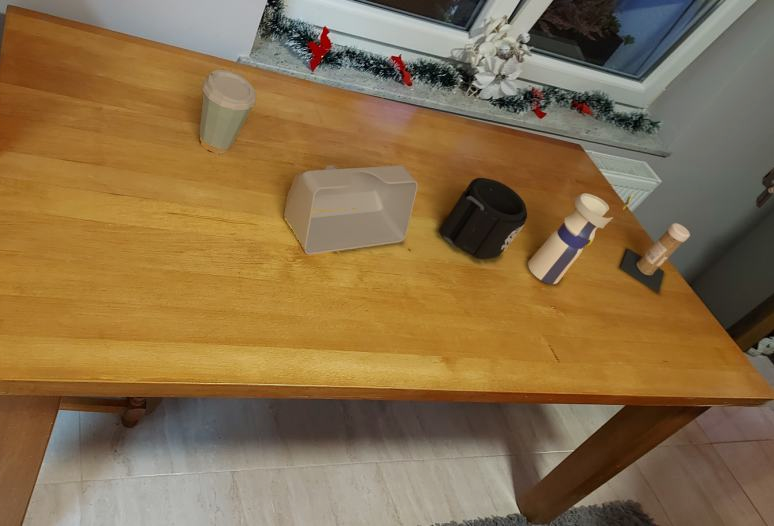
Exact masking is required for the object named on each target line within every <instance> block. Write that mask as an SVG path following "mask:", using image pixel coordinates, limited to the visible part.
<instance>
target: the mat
mask: <svg viewBox="0 0 774 526" xmlns="http://www.w3.org/2000/svg"><path fill="white" fill-rule="evenodd" d="M642 257H643V256H641V255H640V254H639V253H637V252H635V251H634V250H632V249H630V248H628V247H627V249H626V250H625V254H624V256H623V258H622V262H621V265H620V266H619V268H620V269H621V270H622V271H623V272H625V273H627V274H628V275H630V276H632V277H633V278H635V279H636V280H637V281H639V282H641V283H642V284H643V285H645V286H647V287H648V288H650V289H651V290H652V291H655V292H656V293H659V291H660V289H661V285H662V282H663V277H664V275H665V270H663V269H661V268H660V267H659V268H658V269H657V270H656V271H655V272H654V274H653V275H646V274H644V273H642V272H641V271H640V270H639V269H638V268H637V266H636V263H637V262H638V261H639V260H640V259H641V258H642Z"/></svg>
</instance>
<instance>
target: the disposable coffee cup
mask: <svg viewBox="0 0 774 526" xmlns="http://www.w3.org/2000/svg"><path fill="white" fill-rule="evenodd" d="M201 89H202V92H203V96H202V103H201V104H202V106H201V117H200V125H199V126H200V127H199V135H200V137H201V138H202V140H203V141H204V142H206V143H207V144H209V145H210V146H213V147H216V148H218V149H228V148H229V147H230V146H232V147H233V145H234V143H235V140H237V137H238V135H239V134H240V131H241V130H242V128H243V126H244V124H245V122H246V120H247V118H248V117H249V115H250V112H251V111H252V109H253V107H254V106H255V105H256V99H257V92H256V90H255V89H254V86H252V84H251V83H250V81H248V80H247V79H246V78H245V77H243V76H241V75H240V74H238V73H236V72H234V71H230V70H227V69H214V70H213V71H210V73H208V76H206V77H205V79H204V81H203V82H202V88H201ZM229 150H230V149H228V150H227V151H221V152H220V151H218V153H219V152H220V154H221V155H222V153H223V154H226V153H227V152H228V151H229ZM215 153H216V152H215ZM215 153H214V154H215ZM218 153H216V154H215V155H220V154H218Z"/></svg>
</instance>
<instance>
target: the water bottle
mask: <svg viewBox="0 0 774 526" xmlns="http://www.w3.org/2000/svg"><path fill="white" fill-rule="evenodd" d="M632 198H633V194H631V195H630V196H629V195H628V197H627V198H626V200H625V202H624V203H623V204H622V206H623V207H622V211H624V210H625V208H626V207H627V206H628V205H630V201H631V200H632ZM573 202H574V206H575V208H574V209H575V210H574V211H573V212H572V213H571V214H570V215H567V216H565V217H564V219H563V223H562V224H561V225H560V227H559V228H558V229H556V230H554V231H553V232H552V233H551V234H550V235H549V237H548V238H547V239H546V240H545V242H544V243H543V244H542V245H541V246H540V248H539V249H538V250H537V251H536V252H535V253H534V254H533V255H532V256H531V258H530V259H529V260H528V262H527V265H528V266H527V267H528V269H529V271H530V272H531V273H532V274H533V276H534V277H536V278H537V279H538V280H540V281H542V282H543V283H546V284H549V285H556V284H558V283H559V282H560V280H561V279H562V278H563V276H564V275H565V274H566V272H567V271H568V270H569V268H571V266H572V265H573V264H574V263H575V262H576V260H577V259H578V258H579V256H580V255H581V254H582V252H583V250H584V248H585V247H586V248H587V247H590V245H591V244H592V243H593V241H594V239H595V237H596V231H597V230H598V229H599V228H600V229H604V228H605V227H606V226H607V224H609V222H611V221H612V220H613V219H614V217H604V215H606V213H607V212H608V211H609V210H610V206H609V204H608V203H607V202H606V201H605V200H603V198H600V197H598V196H596V195H594V194H591V193H581V194H579V195H577V196H576V197H575V198H574V199H573Z"/></svg>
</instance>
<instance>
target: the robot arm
mask: <svg viewBox="0 0 774 526" xmlns="http://www.w3.org/2000/svg"><path fill="white" fill-rule="evenodd" d="M761 180H762V181H761V184H762V186H763V187H765V189H764V190H763V191H762V192H761V193H760V194H759V195H758V196H757V197H756V199H755V203H756V204H755V207H757V208H759V209H761V208H762V207H763V205H764V204H766V202H767V201H768V200H769V199H770V198H772V196H773V195H774V182H773V181H774V167H772V168H771V169H770V170H769V171H768V172H767V173H766V174H765V175H764V176H762V178H761Z"/></svg>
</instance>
